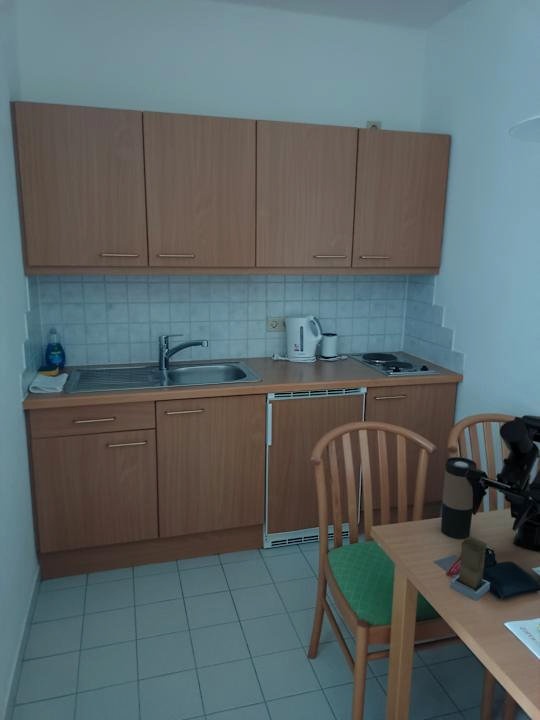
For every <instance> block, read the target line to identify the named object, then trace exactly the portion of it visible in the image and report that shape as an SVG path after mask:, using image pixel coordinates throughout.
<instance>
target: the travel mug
mask: <svg viewBox="0 0 540 720" xmlns="http://www.w3.org/2000/svg"><path fill="white" fill-rule="evenodd" d="M477 465H478V464H477V462H475V461H474V460H472V459H469V458H466V457H459V456H458V457H457V456H454V457H448V458H447V459H446V461H445V471H444V482H443V491H442V500H441V501H442V502H441V503H442V504H441V524H440V525H441V526H440V531H441V533H442V534H443V536H446V537H448V538H450V539H454V540H466V539H467V538H469V537H470V534H471V526H472V518H473V513H472V510H473V491H472V486H471V485H470V484H469V482H468V480H467V479H466V477H465V474H466V472H467V470H468V469H470V468H475V469H478V466H477Z"/></svg>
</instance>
